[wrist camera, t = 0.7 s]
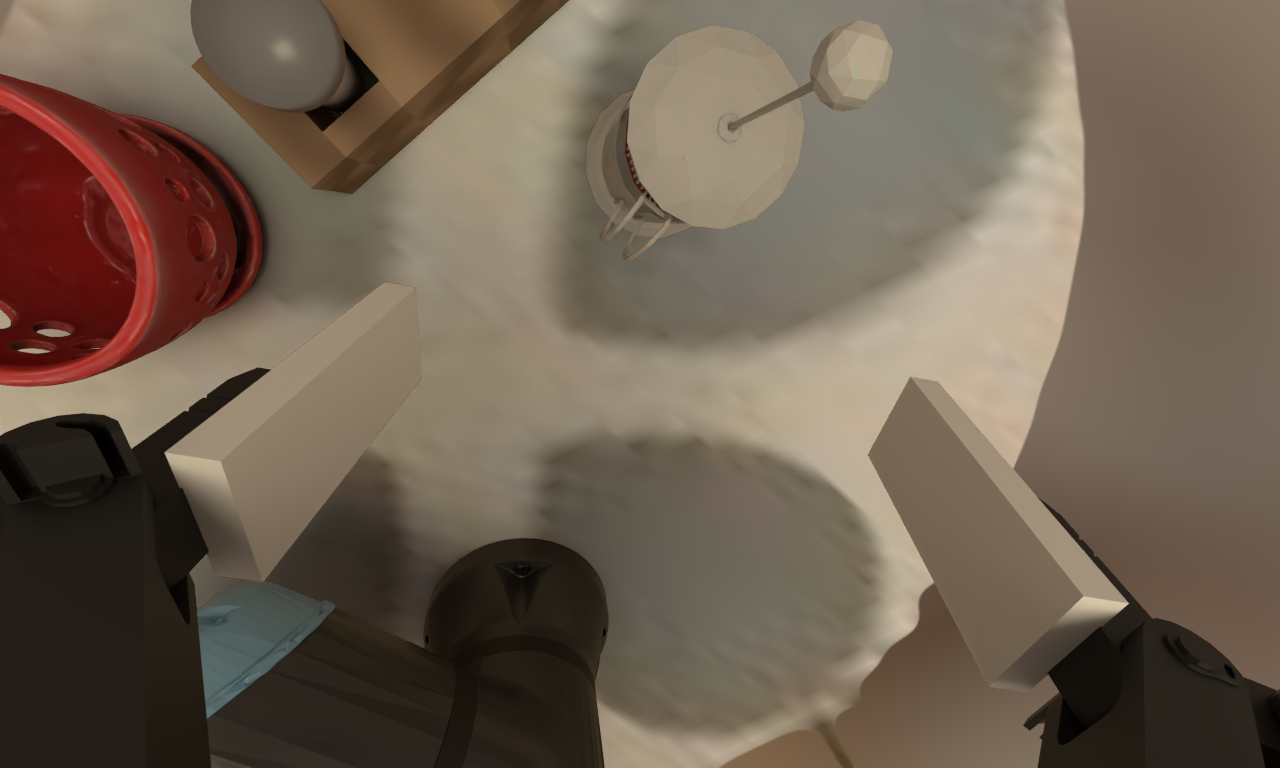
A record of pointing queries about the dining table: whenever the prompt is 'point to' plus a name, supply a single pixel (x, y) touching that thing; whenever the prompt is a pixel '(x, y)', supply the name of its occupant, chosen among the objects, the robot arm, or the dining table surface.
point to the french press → (718, 128)
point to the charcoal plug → (278, 53)
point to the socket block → (391, 81)
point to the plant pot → (109, 235)
